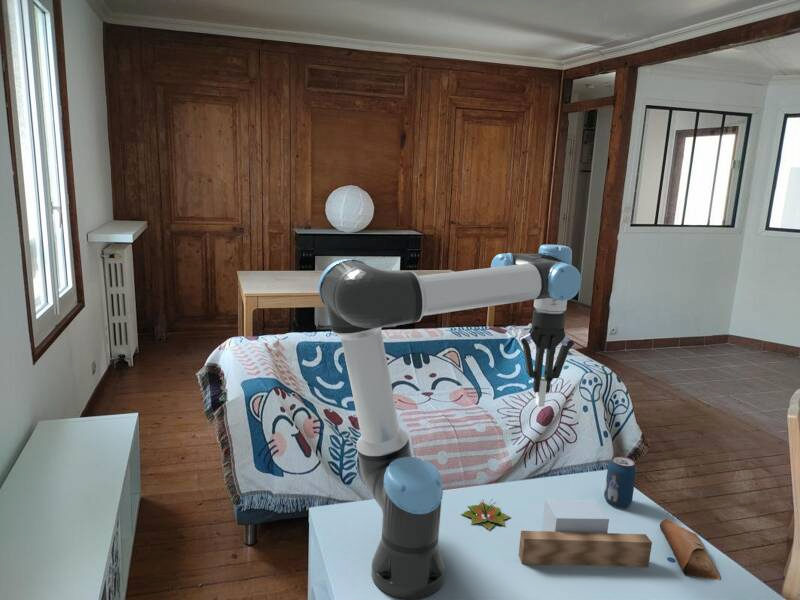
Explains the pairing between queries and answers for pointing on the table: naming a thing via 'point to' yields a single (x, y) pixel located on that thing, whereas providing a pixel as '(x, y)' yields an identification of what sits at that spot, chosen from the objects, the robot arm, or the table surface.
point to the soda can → (620, 481)
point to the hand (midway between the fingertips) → (539, 404)
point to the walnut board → (584, 548)
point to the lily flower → (485, 510)
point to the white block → (574, 516)
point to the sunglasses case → (688, 551)
